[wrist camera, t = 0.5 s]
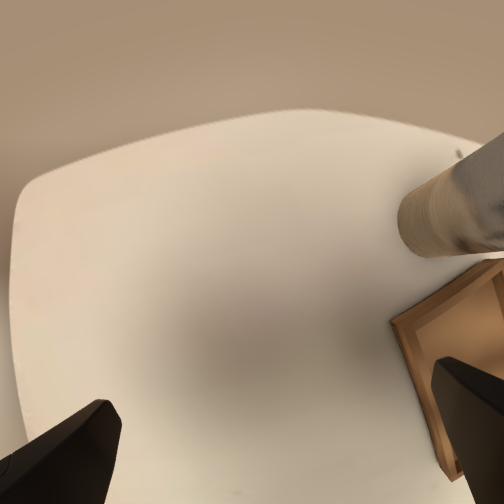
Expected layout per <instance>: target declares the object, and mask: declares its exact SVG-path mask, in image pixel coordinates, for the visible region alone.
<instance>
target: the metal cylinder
mask: <svg viewBox="0 0 504 504" xmlns="http://www.w3.org/2000/svg"><path fill="white" fill-rule="evenodd" d="M398 229H399V232H400V235H401V238H402V239H403V241H404V243H405V244H406V246H407V247H408V248H409V249H410V250H411V251H412V252H414V253H415V254H417V255H419V256H422V257H427V258H432V257H443V256H455V255H466V254H477V253H487V252H498V251H504V133H502V134H501V135H499V136H498V137H496V138H495V139H493V140H492V141H490V142H489V143H487V144H486V145H484V146H483V147H481V148H480V149H478V150H476V151H475V152H473V153H472V154H470V155H469V156H467V157H466V158H464V159H463V160H461V161H460V162H458V163H456V164H455V165H453V166H452V167H450V168H449V169H447V170H446V171H444V172H442V173H441V174H439V175H438V176H436V177H434V178H433V179H431V180H430V181H428V182H427V183H425V184H423V185H422V186H420V187H419V188H417V189H415V190H414V191H412V192H411V193H409V194H408V195H407V196H406V197H405V198H404V199H403V201H402V203H401V205H400V207H399V211H398Z"/></svg>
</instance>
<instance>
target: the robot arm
mask: <svg viewBox="0 0 504 504" xmlns="http://www.w3.org/2000/svg"><path fill="white" fill-rule="evenodd" d="M431 390H432V393H433V396H434V399H435V402H436V404H437V407H438V410H439V413H440V416H441V419H442V422H443V425H444V428H445V431H446V434H447V436H448V439H449V441H450V443H451V445H452V448H453V450H454V452H455V454H456V457H457V459H458V461H459V464H460V466H461V468H462V471H463V473H464V475H465V478H466V480H467V483H468V485H469V488H470V490H471V493H472V495H473V498H474V501H475V503H476V504H504V380H503V379H501V378H498V377H496V376H494V375H492V374H489V373H487V372H485V371H483V370H480V369H478V368H476V367H474V366H471V365H469V364H467V363H465V362H462V361H460V360H458V359H456V358H453V357H451V356H446V357H442V358H439V359H437V360H436V361H435V363H434V367H433V373H432V379H431ZM121 428H122V422H121V419H120V417H119V415H118V413H117V412H116V410H115V408H114V406H113V405H112V403H111V402H110V401H109V400H104V399H97V400H95V401H93V402H92V403H90V404H89V405H87V406H86V407H84V408H82V409H81V410H79V411H78V412H76V413H75V414H73V415H72V416H70V417H69V418H67V419H66V420H64V421H63V422H61V423H59V424H58V425H56V426H55V427H53V428H52V429H50V430H48V431H47V432H45V433H44V434H42V435H41V436H39V437H37V438H36V439H34V440H33V441H31V442H29V443H28V444H26V445H25V446H23V447H21V448H20V449H18V450H16V451H15V452H13V453H12V454H10V455H8V456H7V457H5V458H3V459H2V460H0V504H104V503H105V499H106V496H107V492H108V488H109V485H110V481H111V478H112V474H113V470H114V466H115V461H116V455H117V450H118V444H119V439H120V433H121Z"/></svg>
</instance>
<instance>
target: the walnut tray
mask: <svg viewBox="0 0 504 504" xmlns="http://www.w3.org/2000/svg"><path fill="white" fill-rule="evenodd" d="M390 322H391V325H392V327H393V330H394V332H395V335H396V337H397V340H398V342H399V345H400V347H401V350H402V352H403V355H404V358H405V360H406V363H407V366H408V368H409V371H410V374H411V376H412V379H413V382H414V385H415V388H416V391H417V393H418V396H419V399H420V402H421V405H422V408H423V411H424V414H425V418H426V421H427V424H428V427H429V430H430V434H431V437H432V440H433V444H434V447H435V451H436V454H437V458H438V462H439V466H440V468H441V469H442V471H443V472H444V473H445V475H446V476H447V477H448V479H449V480H450V481H451V482H453V481H455V480H456V479H458V478H459V477H461V476H462V475H464V473H463V471H462V468H461V466H460V464H459V461H458V459H457V457H456V454H455V452H454V450H453V448H452V445H451V443H450V441H449V439H448V436H447V434H446V431H445V428H444V425H443V422H442V419H441V416H440V413H439V410H438V407H437V404H436V402H435V399H434V396H433V393H432V390H431V379H432V373H433V367H434V363H435V361H436V360H437V359H439V358H442V357H446V356H451V357H453V358H456V359H458V360H460V361H462V362H465V363H467V364H469V365H471V366H474V367H476V368H478V369H480V370H483V371H485V372H487V373H489V374H492V375H494V376H496V377H498V378H501V379H503V380H504V258H498V259H484V260H483V261H481V262H480V263H479V264H477V265H476V266H474V267H473V268H471V269H469V270H468V271H467V272H466V273H465V274H463V275H462V276H460V277H459V278H457V279H456V280H455V281H453V282H452V283H450V284H449V285H447V286H446V287H444V288H443V289H441V290H440V291H438V292H437V293H435V294H433V295H432V296H430V297H429V298H427V299H426V300H424V301H422V302H421V303H419V304H418V305H416V306H414V307H413V308H411V309H410V310H408V311H406V312H404V313H402V314H400V315H399V316H398V317H396V318H394V319H393V320H391V321H390Z"/></svg>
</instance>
